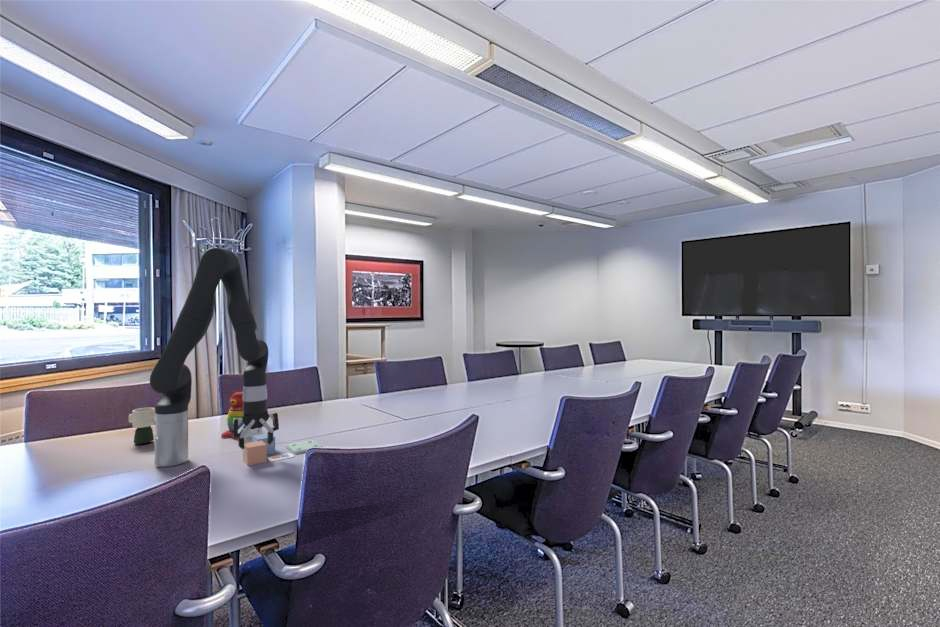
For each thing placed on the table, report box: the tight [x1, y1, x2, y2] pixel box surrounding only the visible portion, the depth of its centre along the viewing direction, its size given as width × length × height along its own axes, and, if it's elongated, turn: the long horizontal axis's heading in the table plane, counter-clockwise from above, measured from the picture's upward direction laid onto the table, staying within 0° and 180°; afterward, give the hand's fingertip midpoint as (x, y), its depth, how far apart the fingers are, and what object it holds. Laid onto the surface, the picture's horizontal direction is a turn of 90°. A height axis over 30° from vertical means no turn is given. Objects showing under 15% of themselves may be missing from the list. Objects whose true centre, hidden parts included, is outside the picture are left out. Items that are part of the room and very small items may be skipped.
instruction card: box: [267, 452, 296, 463], centre depth 156 cm, size 8×5×1 cm, turn 129°
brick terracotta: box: [242, 440, 268, 467], centre depth 152 cm, size 6×6×6 cm
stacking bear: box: [221, 391, 244, 440], centre depth 182 cm, size 11×10×18 cm
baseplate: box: [285, 439, 323, 455], centre depth 166 cm, size 10×10×1 cm
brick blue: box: [253, 433, 276, 455], centre depth 161 cm, size 6×6×6 cm
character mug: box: [128, 406, 155, 445], centre depth 171 cm, size 11×7×13 cm, turn 94°
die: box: [238, 424, 264, 443], centre depth 172 cm, size 8×9×10 cm
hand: (256, 445), depth 152 cm, fingers open, 8 cm apart
